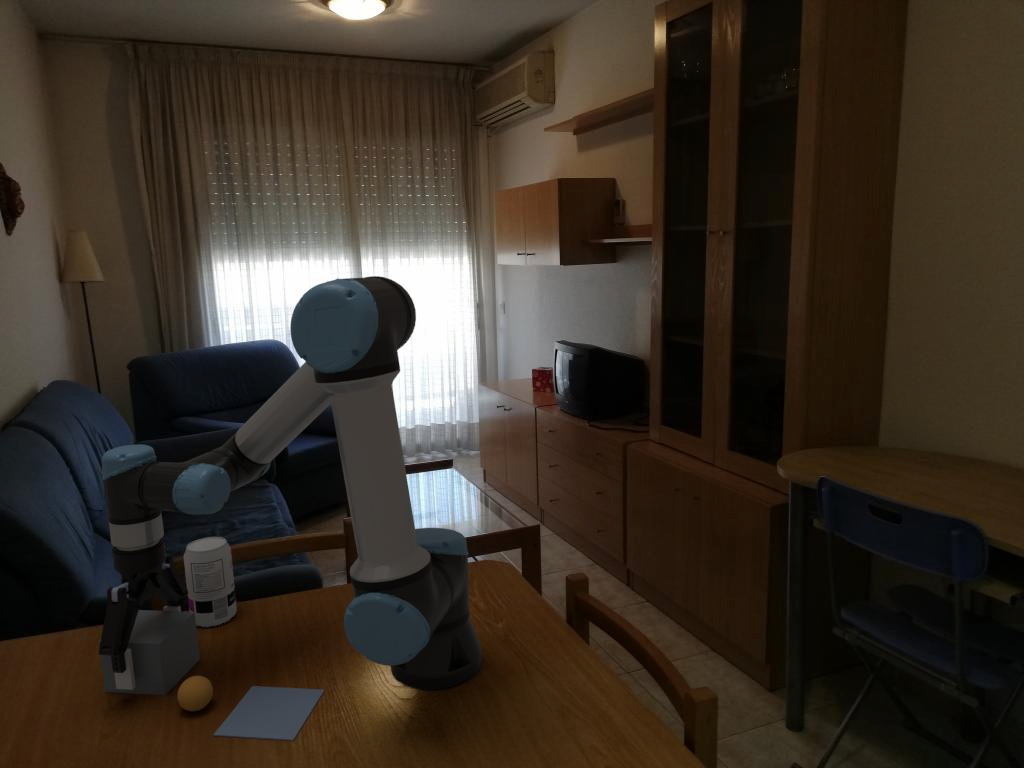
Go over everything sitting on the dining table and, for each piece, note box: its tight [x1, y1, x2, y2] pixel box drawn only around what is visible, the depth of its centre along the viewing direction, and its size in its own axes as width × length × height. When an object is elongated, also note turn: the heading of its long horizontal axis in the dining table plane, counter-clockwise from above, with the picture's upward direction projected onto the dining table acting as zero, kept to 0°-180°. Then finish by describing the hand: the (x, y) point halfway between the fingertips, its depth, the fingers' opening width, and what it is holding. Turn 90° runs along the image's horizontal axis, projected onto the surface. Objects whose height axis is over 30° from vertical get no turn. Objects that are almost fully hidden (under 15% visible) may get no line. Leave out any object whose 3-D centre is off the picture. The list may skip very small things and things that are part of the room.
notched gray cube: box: [98, 609, 201, 696], centre depth 120 cm, size 10×10×9 cm
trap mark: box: [213, 685, 326, 742], centre depth 110 cm, size 12×12×1 cm
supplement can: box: [183, 536, 238, 628], centre depth 138 cm, size 8×8×15 cm
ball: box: [176, 675, 214, 712], centre depth 112 cm, size 5×5×5 cm
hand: (152, 663), depth 121 cm, fingers open, 13 cm apart
